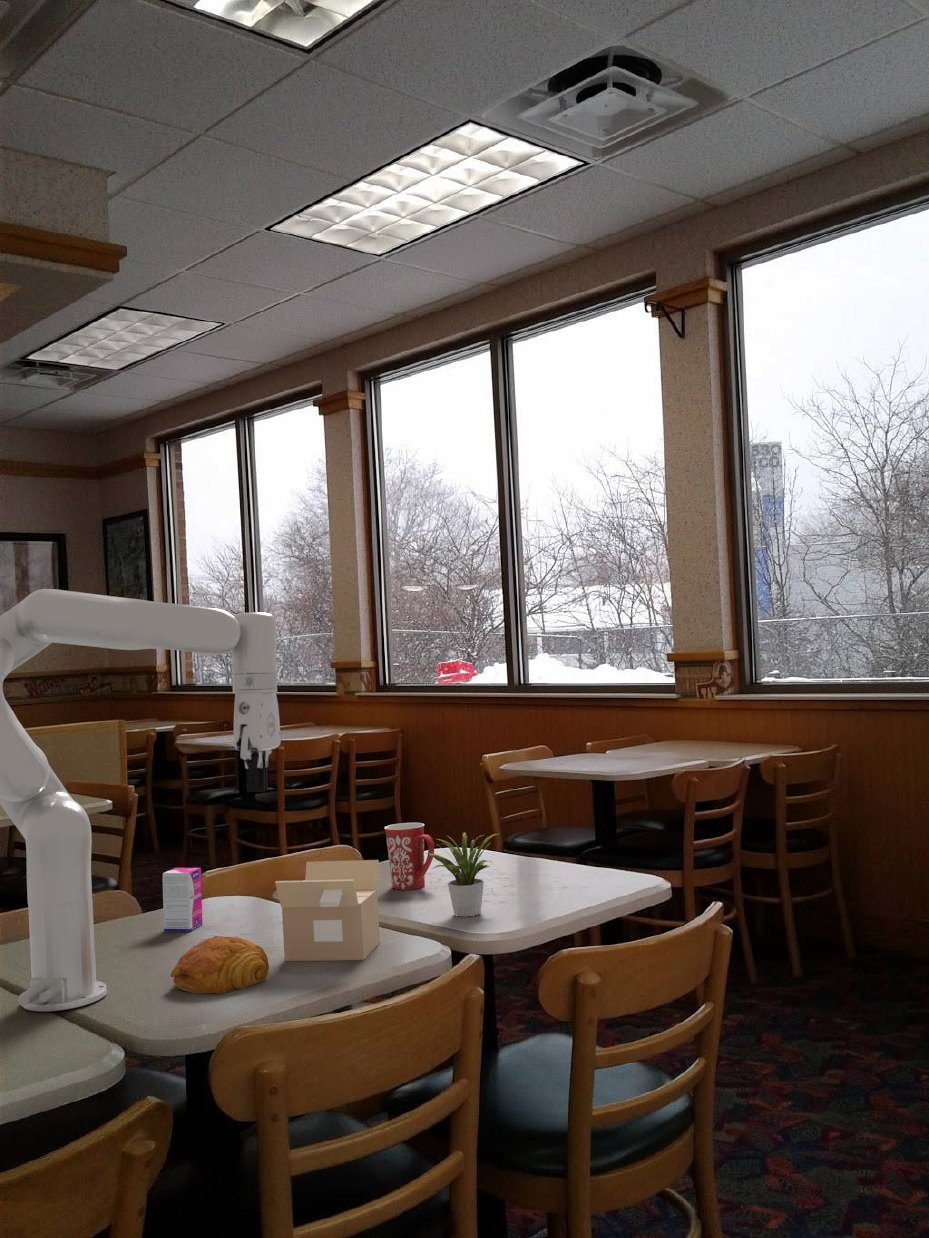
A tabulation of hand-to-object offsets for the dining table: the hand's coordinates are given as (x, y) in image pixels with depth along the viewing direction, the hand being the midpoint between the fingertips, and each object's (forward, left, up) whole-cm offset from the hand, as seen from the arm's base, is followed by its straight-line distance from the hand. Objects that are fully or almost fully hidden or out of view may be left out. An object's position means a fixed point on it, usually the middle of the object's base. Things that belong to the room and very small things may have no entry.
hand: (257, 791), depth 187 cm
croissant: (-10, +4, -30) cm, 32 cm away
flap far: (+14, -10, -17) cm, 24 cm away
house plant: (+34, -30, -29) cm, 54 cm away
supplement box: (+25, +26, -30) cm, 47 cm away
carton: (+7, -10, -29) cm, 32 cm away
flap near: (0, -10, -17) cm, 20 cm away
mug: (+58, -13, -30) cm, 66 cm away
